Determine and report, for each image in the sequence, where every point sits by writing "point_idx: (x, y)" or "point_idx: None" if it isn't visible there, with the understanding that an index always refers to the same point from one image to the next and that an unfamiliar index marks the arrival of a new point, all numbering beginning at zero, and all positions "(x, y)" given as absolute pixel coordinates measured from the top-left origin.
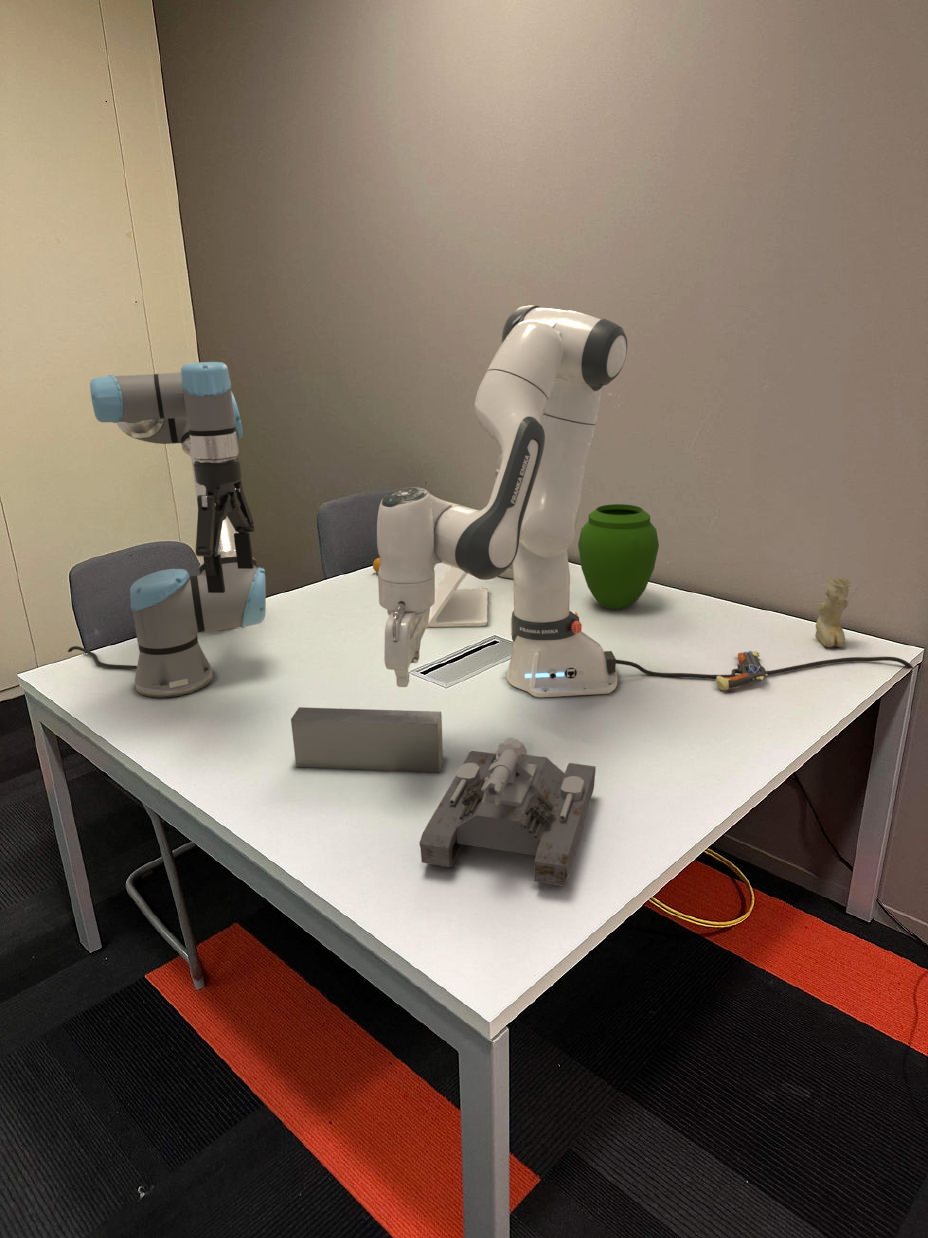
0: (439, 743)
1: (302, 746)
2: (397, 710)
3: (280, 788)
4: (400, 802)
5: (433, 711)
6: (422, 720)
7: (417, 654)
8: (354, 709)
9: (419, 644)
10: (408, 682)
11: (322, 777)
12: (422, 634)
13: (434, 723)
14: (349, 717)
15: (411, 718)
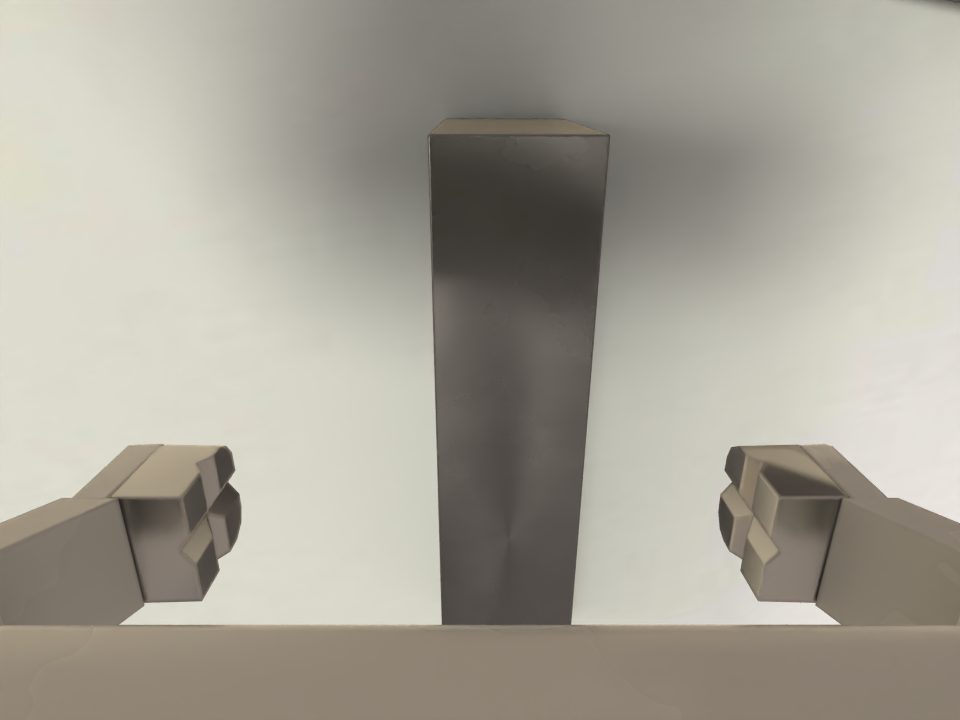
0: (543, 125)
1: None
2: (439, 405)
3: (662, 619)
4: (781, 245)
5: (431, 189)
6: (560, 241)
7: (183, 495)
8: (447, 600)
9: (18, 547)
10: (793, 451)
11: (599, 530)
12: (13, 682)
13: (601, 156)
14: (534, 602)
15: (537, 311)
